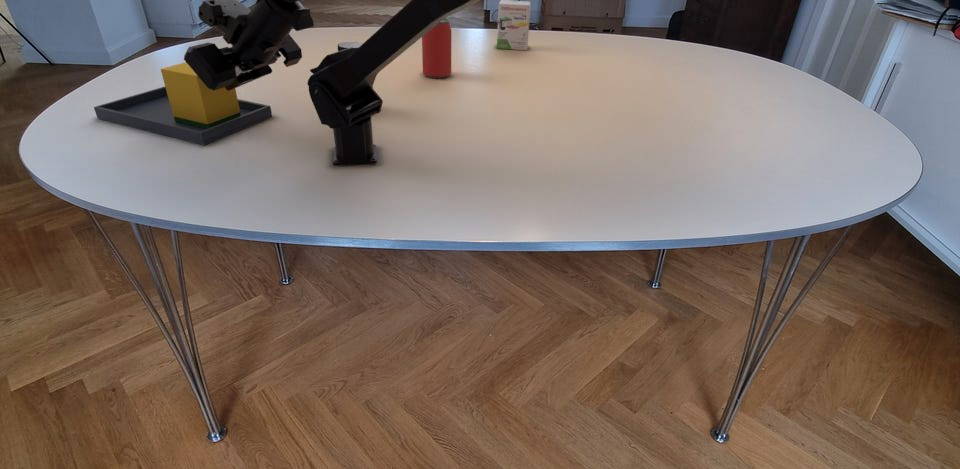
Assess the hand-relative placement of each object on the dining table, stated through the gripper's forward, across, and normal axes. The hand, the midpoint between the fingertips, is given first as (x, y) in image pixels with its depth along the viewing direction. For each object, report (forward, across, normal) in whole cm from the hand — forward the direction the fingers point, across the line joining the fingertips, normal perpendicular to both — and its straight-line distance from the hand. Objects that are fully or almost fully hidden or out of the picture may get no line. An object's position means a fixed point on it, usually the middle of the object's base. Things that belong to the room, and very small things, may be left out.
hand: (227, 87), depth 89 cm
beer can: (-4, -47, +14) cm, 50 cm away
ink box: (-8, -82, +18) cm, 85 cm away
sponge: (+9, 0, 0) cm, 9 cm away
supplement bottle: (-3, -18, +13) cm, 23 cm away
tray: (+13, 0, -3) cm, 14 cm away
